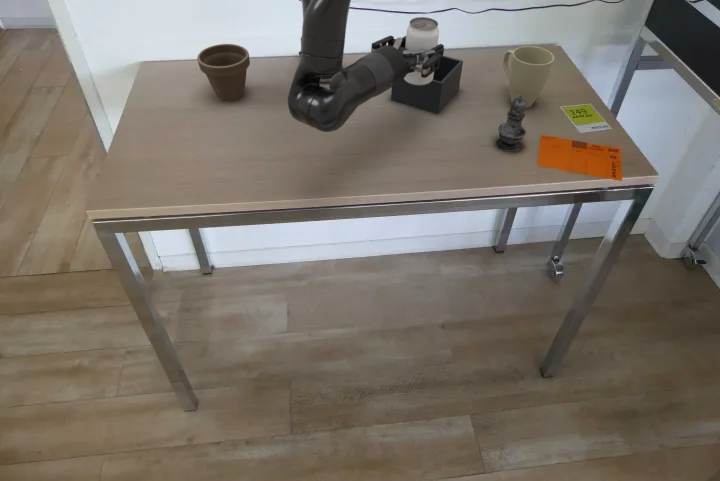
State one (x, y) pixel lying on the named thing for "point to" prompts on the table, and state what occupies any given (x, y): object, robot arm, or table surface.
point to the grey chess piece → (513, 126)
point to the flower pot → (225, 69)
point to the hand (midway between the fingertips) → (427, 43)
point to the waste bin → (432, 87)
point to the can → (421, 44)
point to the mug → (527, 72)
